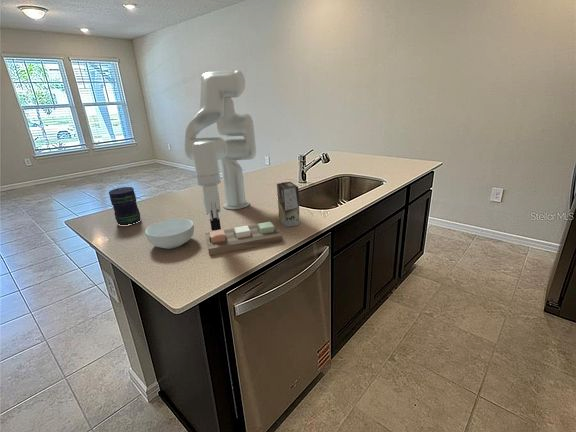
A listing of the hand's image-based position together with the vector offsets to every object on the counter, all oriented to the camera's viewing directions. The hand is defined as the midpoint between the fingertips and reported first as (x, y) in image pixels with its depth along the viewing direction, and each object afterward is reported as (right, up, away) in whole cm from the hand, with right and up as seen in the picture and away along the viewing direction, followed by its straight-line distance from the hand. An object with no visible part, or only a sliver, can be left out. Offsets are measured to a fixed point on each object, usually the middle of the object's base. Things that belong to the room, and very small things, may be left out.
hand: (216, 229), depth 110 cm
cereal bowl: (-17, -6, +6) cm, 19 cm away
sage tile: (+17, -1, +7) cm, 19 cm away
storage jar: (-45, +2, +28) cm, 53 cm away
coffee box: (+26, +2, +19) cm, 32 cm away
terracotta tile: (0, -4, +2) cm, 5 cm away
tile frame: (+9, -4, +5) cm, 11 cm away
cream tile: (+9, -3, +5) cm, 10 cm away
